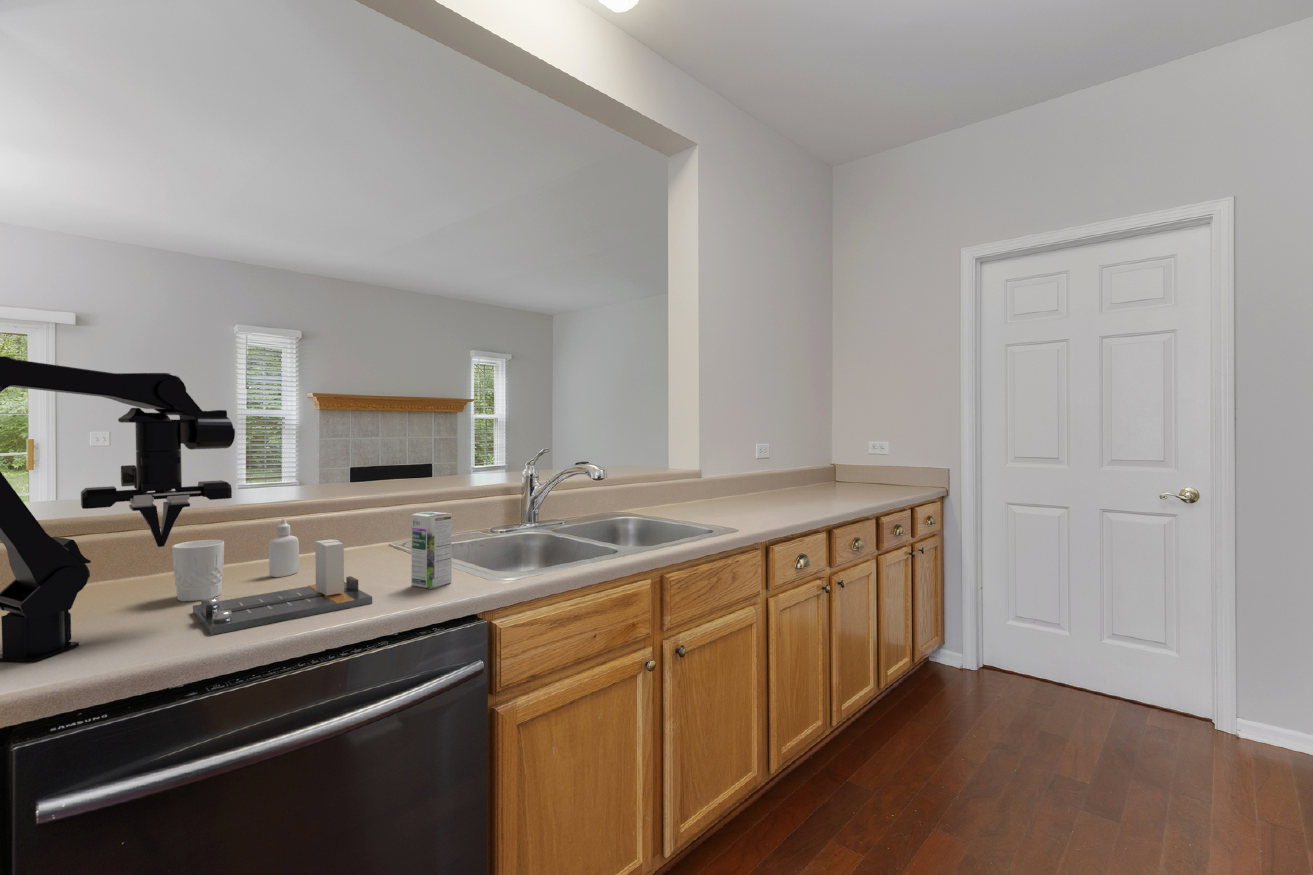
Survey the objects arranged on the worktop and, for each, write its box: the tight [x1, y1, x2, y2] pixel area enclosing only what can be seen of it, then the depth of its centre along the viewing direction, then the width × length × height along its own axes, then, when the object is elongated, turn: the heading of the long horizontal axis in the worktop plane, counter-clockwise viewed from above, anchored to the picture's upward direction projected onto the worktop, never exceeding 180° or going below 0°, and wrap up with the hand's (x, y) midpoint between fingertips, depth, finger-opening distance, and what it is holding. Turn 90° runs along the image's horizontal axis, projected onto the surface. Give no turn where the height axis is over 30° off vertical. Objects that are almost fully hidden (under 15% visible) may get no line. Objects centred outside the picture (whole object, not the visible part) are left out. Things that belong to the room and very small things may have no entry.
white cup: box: [171, 539, 225, 602], centre depth 116 cm, size 8×8×10 cm
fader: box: [314, 538, 345, 596], centre depth 114 cm, size 3×6×9 cm, turn 45°
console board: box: [192, 576, 373, 636], centre depth 109 cm, size 24×16×3 cm
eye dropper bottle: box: [268, 518, 300, 578], centre depth 133 cm, size 4×6×12 cm
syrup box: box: [410, 511, 453, 590], centre depth 125 cm, size 6×6×14 cm
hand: (160, 546), depth 101 cm, fingers closed
